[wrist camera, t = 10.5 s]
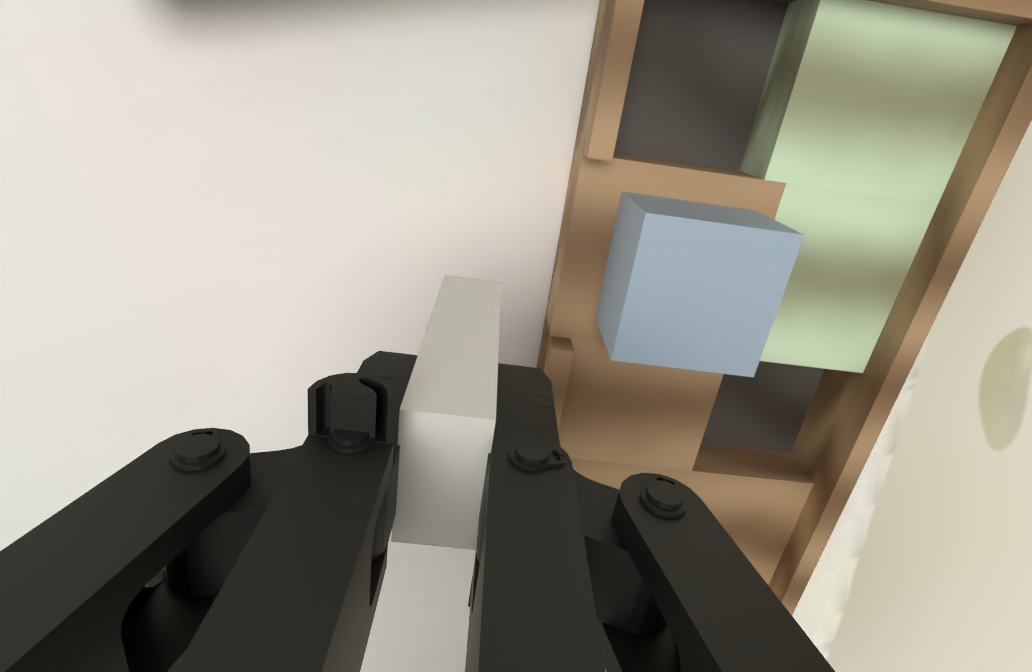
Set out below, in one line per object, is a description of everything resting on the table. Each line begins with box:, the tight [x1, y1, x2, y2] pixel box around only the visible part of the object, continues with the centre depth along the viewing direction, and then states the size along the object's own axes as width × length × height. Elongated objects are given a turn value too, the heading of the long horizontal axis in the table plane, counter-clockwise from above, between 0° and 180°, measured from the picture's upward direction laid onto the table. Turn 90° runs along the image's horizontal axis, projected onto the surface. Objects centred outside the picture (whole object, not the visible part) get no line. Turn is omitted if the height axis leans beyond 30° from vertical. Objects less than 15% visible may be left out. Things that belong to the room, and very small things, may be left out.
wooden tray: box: [537, 0, 1032, 615], centre depth 28 cm, size 33×17×4 cm, turn 172°
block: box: [595, 191, 804, 377], centre depth 23 cm, size 6×6×4 cm
